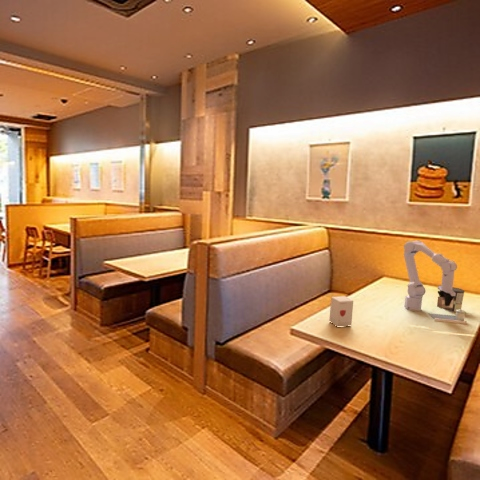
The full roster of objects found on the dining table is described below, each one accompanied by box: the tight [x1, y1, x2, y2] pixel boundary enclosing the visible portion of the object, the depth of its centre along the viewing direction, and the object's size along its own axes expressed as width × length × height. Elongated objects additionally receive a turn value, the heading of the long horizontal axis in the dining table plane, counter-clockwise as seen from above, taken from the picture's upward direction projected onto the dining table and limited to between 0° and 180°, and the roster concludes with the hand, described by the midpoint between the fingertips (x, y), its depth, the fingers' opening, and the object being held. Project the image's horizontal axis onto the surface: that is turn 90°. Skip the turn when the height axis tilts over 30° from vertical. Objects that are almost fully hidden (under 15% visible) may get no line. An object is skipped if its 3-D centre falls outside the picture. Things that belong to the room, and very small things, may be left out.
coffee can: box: [443, 287, 465, 313], centre depth 229 cm, size 10×10×14 cm
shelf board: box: [428, 312, 468, 325], centre depth 214 cm, size 16×13×2 cm
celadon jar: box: [455, 308, 466, 321], centre depth 210 cm, size 5×5×7 cm
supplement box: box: [328, 295, 354, 327], centre depth 201 cm, size 9×9×15 cm
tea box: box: [436, 296, 454, 310], centre depth 212 cm, size 7×4×6 cm, turn 91°
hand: (444, 304), depth 212 cm, fingers closed on tea box, 4 cm apart
